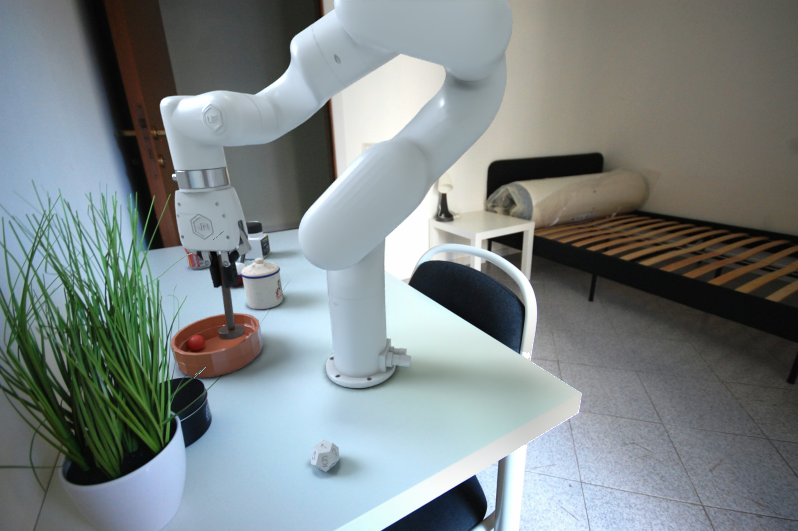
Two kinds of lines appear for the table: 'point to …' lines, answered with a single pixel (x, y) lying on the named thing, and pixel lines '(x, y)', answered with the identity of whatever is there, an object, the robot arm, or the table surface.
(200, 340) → the ball
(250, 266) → the teacup with lid
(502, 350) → the table surface
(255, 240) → the medicine bottle
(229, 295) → the brown pole with base
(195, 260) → the soda can
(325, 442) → the game die
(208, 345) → the bowl
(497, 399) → the table surface
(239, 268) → the cocoa
